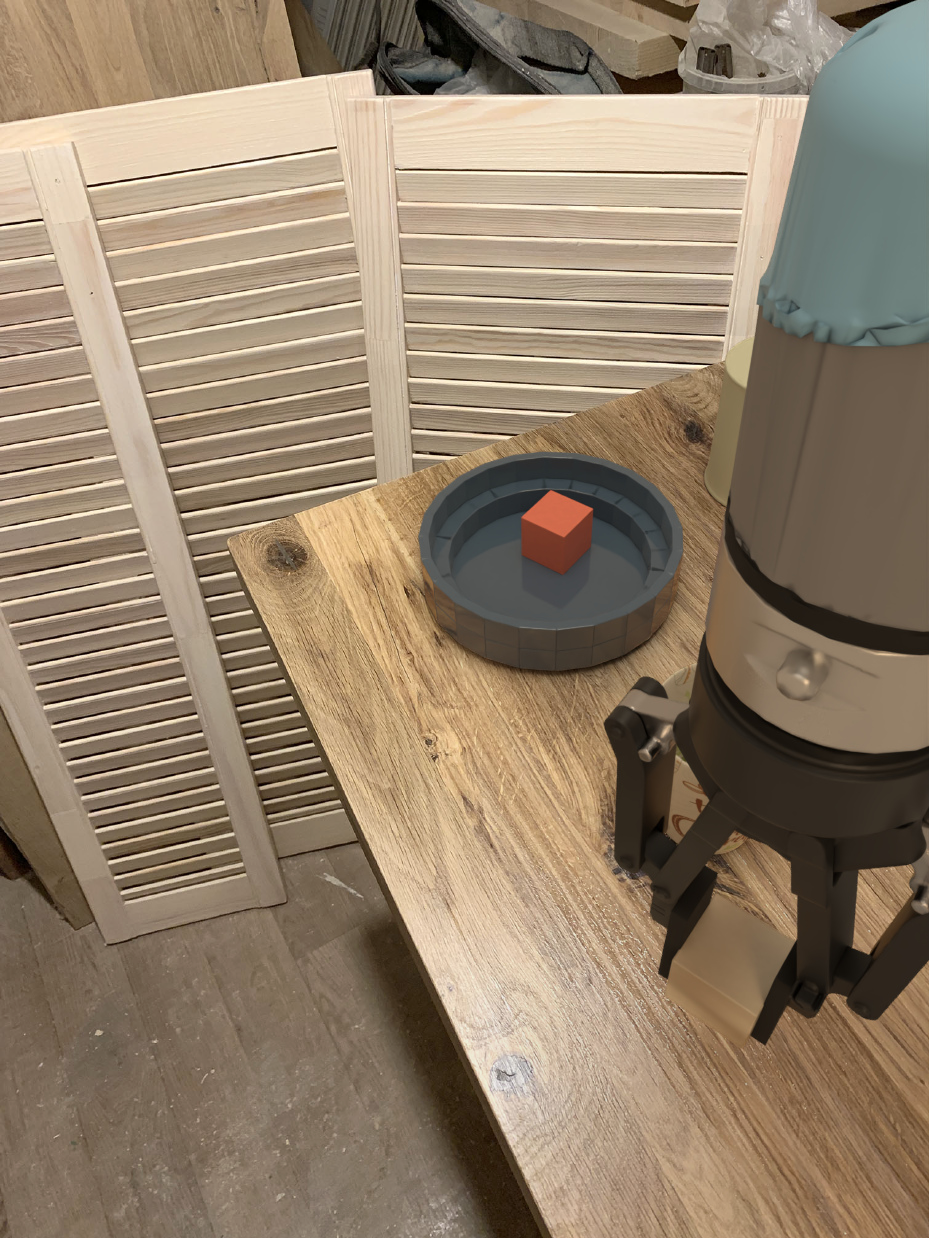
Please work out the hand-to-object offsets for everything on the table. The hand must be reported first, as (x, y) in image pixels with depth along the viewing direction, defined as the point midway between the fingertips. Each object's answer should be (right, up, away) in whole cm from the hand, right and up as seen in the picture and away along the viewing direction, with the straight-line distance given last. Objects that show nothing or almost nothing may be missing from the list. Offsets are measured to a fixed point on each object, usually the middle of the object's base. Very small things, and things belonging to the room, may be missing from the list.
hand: (724, 984), depth 43 cm
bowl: (-5, +20, +30) cm, 36 cm away
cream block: (0, 0, 0) cm, 0 cm away
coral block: (-5, +22, +31) cm, 39 cm away
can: (+13, +29, +37) cm, 48 cm away
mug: (+4, +6, +17) cm, 18 cm away
